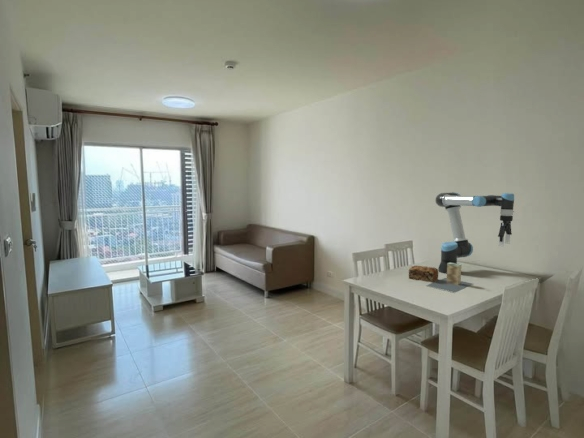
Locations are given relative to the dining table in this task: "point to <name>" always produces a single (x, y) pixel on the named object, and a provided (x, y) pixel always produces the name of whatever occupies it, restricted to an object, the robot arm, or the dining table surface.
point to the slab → (454, 273)
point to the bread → (423, 273)
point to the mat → (449, 285)
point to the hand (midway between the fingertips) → (504, 244)
